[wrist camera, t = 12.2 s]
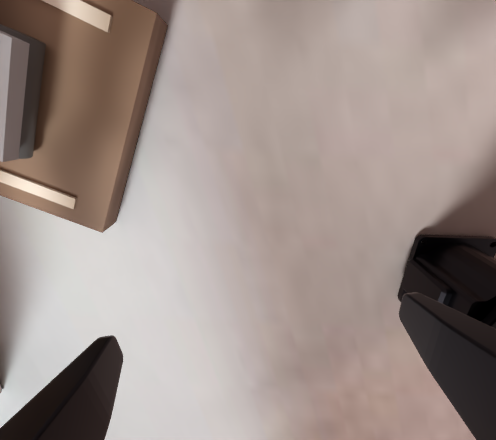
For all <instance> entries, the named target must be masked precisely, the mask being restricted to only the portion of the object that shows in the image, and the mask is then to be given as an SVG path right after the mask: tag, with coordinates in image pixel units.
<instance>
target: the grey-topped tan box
mask: <svg viewBox="0 0 496 440" xmlns="http://www.w3.org/2000/svg"><path fill="white" fill-rule="evenodd" d="M45 48H46V44H45V43H43V42H41V41H39V40H37V39H35V38H33V37H31V36H28V35H26V34H24V33H21V32H19V31H17V30H14V29H12V28H9V27H7V26H4V25H2V24H0V161H1V162H6V161H11V160H17V159H27V158H31V157H32V156H33V150H34V142H35V133H36V125H37V116H38V107H39V99H40V90H41V82H42V73H43V65H44V56H45Z"/></svg>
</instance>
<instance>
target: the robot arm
mask: <svg viewBox="0 0 496 440" xmlns="http://www.w3.org/2000/svg"><path fill="white" fill-rule="evenodd" d="M423 240H424V242H423V243H421V242H422V241H423ZM495 254H496V238H494V237H480V236H446V235H420V236H418V237H417V238H416V239H415V242H414V245H413V249H412V252H411V255H410V258H409V261H408V264H407V267H406V270H405V273H404V277H403V280H402V283H401V287H400V291H399V294H398V299H399V300H400V302H401V306H400V311H399V317H400V320H401V322H402V324H403V326H404V327H405V329H406V331H407V333H408V334H409V336H410V338H411V340H412V342H413V343H414V345H415V347H416V349H417V351H418V352H419V354H420V356H421V358H422V359H423V361H424V363H425V365H426V366H427V368H428V369H429V371H430V372H431V374H432V376H433V377H434V379H435V380H436V381H437V383H438V384H439V386H440V387H441V389H442V390H443V392H444V393H445V395H446V396H447V398H448V399H449V400H450V402H451V403H452V405H453V406H454V408H455V409H456V411H457V412H458V414H459V415H460V417H461V418H462V419H463V421H464V422H465V424H466V425H467V427H468V428H469V430H470V431H471V433H472V434H473V436H474V437H475V438H476V440H496V259H495V258H494V256H495ZM122 363H123V354H122V351H121V349H120V346H119V344H118V342H117V340H116V338H115V337H114V336H112V335H111V336H104V337H100V338H98V339H97V340H95V341H94V342H93V343H92V344H91V345H90V346H89V347H88V348H87V349H86V350H85V351H83V352H82V353H81V354H80V355H79V356H78V357H77V358H76V359H75V360H74V361H73V362H72V363H70V364H69V365H68V366H67V367H66V368H65V369H64V370H63V371H62V372H61V373H60V374H58V375H57V376H56V377H55V378H54V379H53V380H52V381H51V382H50V383H49V384H48V385H47V386H45V387H44V388H43V389H42V390H41V391H40V392H39V393H38V394H37V395H36V396H35V397H34V398H32V399H31V400H30V401H29V402H28V403H27V404H26V405H25V406H24V407H23V408H22V409H21V410H19V411H18V412H17V413H16V414H15V415H14V416H13V417H12V418H11V419H10V420H9V421H8V422H6V423H5V424H4V425H3V426H2V427H1V428H0V440H104V439H105V436H106V433H107V429H108V426H109V423H110V419H111V415H112V411H113V406H114V401H115V397H116V392H117V387H118V382H119V378H120V373H121V368H122Z"/></svg>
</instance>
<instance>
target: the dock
mask: <svg viewBox="0 0 496 440" xmlns="http://www.w3.org/2000/svg"><path fill="white" fill-rule="evenodd" d="M0 24H2V25H4V26H7V27H9V28H12V29H14V30H17V31H19V32H21V33H24V34H26V35H28V36H31V37H33V38H35V39H37V40H39V41H41V42H43V43H45V44H46V48H45V56H44V65H43V73H42V82H41V90H40V99H39V107H38V116H37V125H36V133H35V142H34V150H33V156H32V157H31V158H27V159H17V160H11V161H6V162H1V161H0V195H1V196H4V197H6V198H9V199H12V200H15V201H17V202H20V203H23V204H26V205H28V206H31V207H34V208H36V209H39V210H42V211H45V212H47V213H50V214H53V215H56V216H58V217H61V218H64V219H66V220H69V221H72V222H75V223H77V224H80V225H83V226H86V227H88V228H91V229H94V230H97V231H99V232H102V233H103V232H104V231H105V230H106V229H108V228H109V227H110V226H111V225H113V224H114V223H115V222H116V219H117V215H118V212H119V208H120V204H121V200H122V197H123V193H124V189H125V185H126V182H127V178H128V174H129V170H130V166H131V163H132V159H133V155H134V151H135V148H136V144H137V140H138V136H139V132H140V129H141V125H142V121H143V117H144V114H145V110H146V106H147V102H148V98H149V95H150V91H151V87H152V83H153V80H154V76H155V72H156V68H157V64H158V61H159V57H160V53H161V49H162V46H163V42H164V38H165V34H166V30H167V27H168V25H167V24H166V23H165V22H164V21H163V20H162V18H161V17H160V16H159V15H158V14H157V13H156V12H154V11H152V10H150V9H148V8H146V7H144V6H142V5H140V4H138V3H136V2H134V1H132V0H0Z"/></svg>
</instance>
